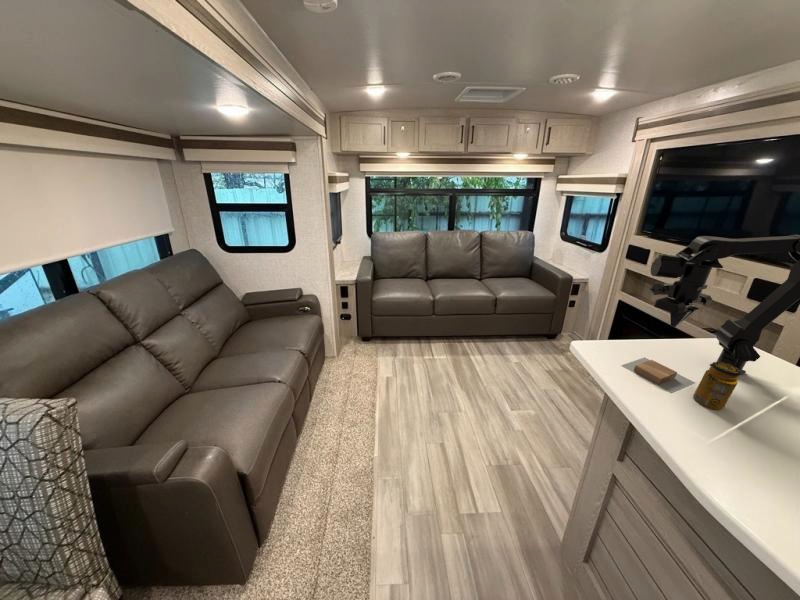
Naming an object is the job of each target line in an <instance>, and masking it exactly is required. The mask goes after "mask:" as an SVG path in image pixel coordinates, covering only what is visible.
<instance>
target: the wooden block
mask: <svg viewBox="0 0 800 600" xmlns="http://www.w3.org/2000/svg"><path fill="white" fill-rule="evenodd" d="M634 371H635V372H637V373H638V374H640V375H642V376H644V377H646V378H648V379H649V380H651V381H653V382H655V383H657V384H661V383H664V382H666V381H668V380H671V379H673V378H675V377H676V374H678V372H677V371H676V370H673V369H671V368H670V367H668V366H665V365H663V364H662V363H659V362H657V361H656V360H653V359H649V361H646V362H644V363H641V364H638V365H636V366H635V368H634Z"/></svg>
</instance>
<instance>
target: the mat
mask: <svg viewBox="0 0 800 600" xmlns="http://www.w3.org/2000/svg"><path fill="white" fill-rule="evenodd" d="M649 360H650V359H649V358H646V357H641V358H638V359H635V360H633V361H629V362H628V363H624V364H622V365H620V366H621V367H623V368H624V369H626V370H628V371H629V372H632V373H633V374H636V375H637V376H639V377H641V378H643V379H644V380H646V381H648V382H649V383H652V384H654V385H656V386H657V387H659V388H661V389H662V390H664V391H667V392H668V393H670V394H674V393H675V392H678V391H680V390H682V389H685V388H686V387H687V388H688V386H692V385H694V384H695V383H696V382H695V381H693V380H691V379H690V378H687V377H685V376H683V375H681V374H679V373H677V374H676V377H675V378H673V379H671V380H668V381H666V382H664V383H661V384H657V383H655V382H653V381H651V380H649V379H648V378H646V377H644V376H642V375H640V374H638V373H637V372H635V371H634V368H635V366H636V365H638V364H641V363H644V362H646V361H649Z"/></svg>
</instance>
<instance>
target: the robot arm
mask: <svg viewBox="0 0 800 600" xmlns="http://www.w3.org/2000/svg"><path fill="white" fill-rule="evenodd" d="M773 253H774V254H775V253H776V254H778V253H787V254H788V255H789V256H790V257H791V258H792V259H793V260H794V261H795V262H794V264H793V265H792V266H791V267H790V269H789V273H788V277H787V279H786V280H784V282H782V283H781V284H780V285H779V286H778V287H777V288H776V289H774V290H773V291H772V292H771V293H770V294H769V295H768V296H766V297H765V298H764V299H763V300H762V301H761V302H759V303H758V304H757V305H756V306H755V307H754V308H753V309H751V311H749V312H748V313H747V314H746V315H745V316H744V317H742V318H740V319H737V320H734V321H733V320H732V319H727V320H725V322H724V323H723V324H722V325H720V326H718V327H717V328H716V330H717V331H716V333H715V338H716V339H717V341H718V345H719V346H721V347H722V351H721V352H720V354H719V356H718V358H717V360H716V362H723V363H727V364H730V365H732V366H734V367H736V368H738V369H739V370H740V372H741V373H740V375H739V376H742V375H744V374H746V373H747V371H746V370H745V369H744V367H745V365H746V364H747V362H753V363H754V362H756V361H757V360H759V359H760V358H761V355H760V354H759V353H758V351H757V350H756V349H755V348H754V347H755V346H756V344H758V343H759V341H760V340H761V339H760V338H761V336H762V335H761V334H762V332H763V330H764V329H765V328H766V327H767V326H769V325H770V324H771V323H772V322H774V320H776V319H778V317H779V316H781V315H782V314H783V313H784V312H785V311H787V310H788V309H789V308H790V307H792V305H794V304H795V303H796V302H798V301H799V300H800V234H791V235H786V236H785V235H783V236H766V237H765V236H763V237H745V238H729V237H720V236H711V235H709V236H708V235H700V236H696V237H695V239H693V240H691V242H690V244H688V245H687V246H686V247H684V248H683V249H681V250H679V252H677V253H676V254H675V255H672V254H666V253H659V254H658V257H656V258H655V259H654V261H653V262H652V263H651V266H650V274H651V276H652V277H656V278H657V277H658V278H668V279H678V278H679V280H675V281H674V282H673V283H664V282H654V283H653V284H652V285H651V288H650V289H649V290H650V291H651V292H652V295H653V296H658V295H662V296H664V295H666V296H665V297H662V298H658V299H655V301H654V303H653V307H655V308H657V309H659V310H662V311H664V312H668V313H670V327H672V328H676V327H678V326H679V325H680V324H682V322H684V321H685V320H687V318H689V317H690V316H692V315H693V314H694V313H695V312H697V311H699V309H700V308H699V307H696V306H695V304H696V303H702V306H703V307H708V306H711V304H712V301H713V297H712V296H711V295H709V294H706V293H702V292H703V290H705V289H707V288H708V285H707V284H706V283H707V280H708V278H709V276H710V273H711V271H712V269H723V268H724V266H723V265H722V264H721V263H720V261H719V260H720V259H727V258H729V257H732V256H737V255H752V254H757V255H758V254H773ZM711 364H712V363H710V364H709V367H711Z"/></svg>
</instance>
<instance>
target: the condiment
mask: <svg viewBox="0 0 800 600" xmlns="http://www.w3.org/2000/svg"><path fill="white" fill-rule="evenodd" d="M710 364H711V366H709V369H706V371H705V372H704V374H703V376H702V378H701V380H700V382H699V384H698V385H697V387H696V390H695V392H694V393H693V397H692V399H693V400H694V402H696V403H697V404H699V405H700V406H702V407H703V408H706V409H709V410H713V411H721V410H723V408H724V409H725V406H726V404H727V403H728V401H729V399H730V398H731V395H732V394H733V392H734V390H736V389H735V388H736V387H737V385H738V383H739V381H738V380H739V377H740V376H741V375H740V373H741V372H740V370H739V369H738V368H736V367H734V366H732V365H730V364H727V363H723V362H717V361H714V362H712V363H710Z"/></svg>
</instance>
